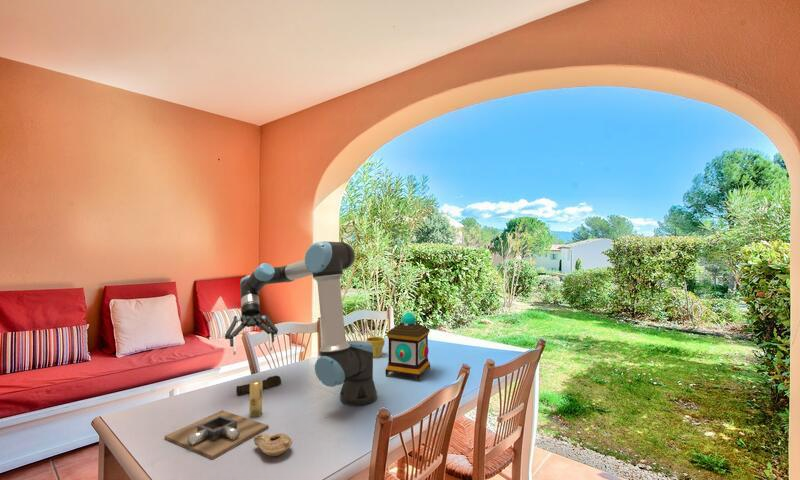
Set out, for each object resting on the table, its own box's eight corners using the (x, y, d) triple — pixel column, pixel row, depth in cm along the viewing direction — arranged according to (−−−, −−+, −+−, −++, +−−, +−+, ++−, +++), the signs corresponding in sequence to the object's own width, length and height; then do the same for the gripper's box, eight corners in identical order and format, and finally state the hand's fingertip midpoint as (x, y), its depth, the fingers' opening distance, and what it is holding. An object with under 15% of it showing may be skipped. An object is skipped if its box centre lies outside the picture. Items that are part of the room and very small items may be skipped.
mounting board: (268, 428, 127) (268, 425, 127) (212, 459, 108) (212, 456, 108) (222, 412, 138) (222, 410, 138) (164, 439, 119) (164, 435, 119)
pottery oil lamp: (264, 439, 119) (275, 418, 120) (287, 463, 113) (299, 441, 114) (243, 442, 111) (256, 420, 113) (267, 468, 105) (280, 444, 106)
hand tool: (238, 397, 153) (238, 386, 153) (235, 394, 156) (235, 383, 156) (283, 387, 164) (283, 376, 164) (280, 384, 167) (280, 374, 167)
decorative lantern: (381, 377, 176) (381, 314, 177) (397, 364, 195) (397, 307, 195) (421, 383, 169) (421, 317, 169) (433, 370, 187) (434, 310, 187)
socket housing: (247, 433, 121) (247, 424, 121) (209, 454, 109) (209, 443, 109) (220, 424, 127) (220, 415, 127) (182, 442, 116) (182, 432, 116)
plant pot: (383, 359, 204) (383, 341, 204) (365, 358, 204) (365, 341, 204) (384, 353, 214) (384, 336, 214) (367, 353, 215) (367, 336, 215)
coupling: (264, 413, 138) (265, 381, 138) (255, 418, 134) (255, 385, 134) (256, 411, 140) (256, 379, 140) (246, 415, 136) (247, 383, 136)
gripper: (279, 310, 169) (284, 352, 156) (218, 314, 158) (218, 359, 144) (281, 300, 164) (286, 342, 151) (218, 303, 153) (218, 349, 139)
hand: (253, 351), depth 147 cm, fingers open, 13 cm apart
